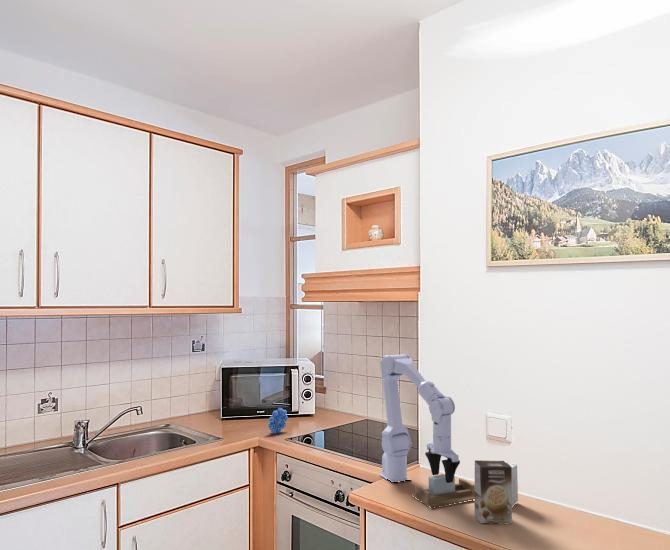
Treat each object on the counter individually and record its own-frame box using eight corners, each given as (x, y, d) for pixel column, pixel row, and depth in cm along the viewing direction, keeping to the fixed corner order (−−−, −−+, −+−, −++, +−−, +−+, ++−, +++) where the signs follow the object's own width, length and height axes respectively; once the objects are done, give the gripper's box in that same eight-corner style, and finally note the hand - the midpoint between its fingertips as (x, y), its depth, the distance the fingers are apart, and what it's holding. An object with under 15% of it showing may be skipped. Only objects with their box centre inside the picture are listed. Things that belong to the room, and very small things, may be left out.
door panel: (428, 496, 163) (428, 475, 164) (449, 492, 167) (449, 472, 167) (434, 499, 161) (434, 478, 161) (455, 495, 164) (454, 474, 164)
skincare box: (505, 500, 163) (504, 461, 164) (518, 503, 160) (517, 464, 161) (497, 505, 158) (497, 466, 159) (511, 509, 155) (510, 469, 156)
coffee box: (480, 524, 145) (480, 467, 145) (474, 515, 151) (473, 460, 152) (512, 524, 145) (512, 466, 146) (504, 515, 151) (503, 459, 152)
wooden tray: (412, 496, 166) (412, 483, 166) (457, 488, 173) (457, 476, 173) (431, 509, 155) (431, 495, 156) (478, 500, 163) (478, 487, 163)
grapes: (281, 429, 253) (281, 405, 254) (290, 432, 248) (290, 407, 249) (262, 433, 245) (263, 408, 245) (271, 436, 240) (272, 410, 241)
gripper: (419, 431, 170) (419, 472, 169) (445, 442, 157) (445, 487, 156) (436, 429, 173) (436, 470, 172) (463, 440, 159) (464, 484, 159)
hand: (442, 478), depth 164 cm, fingers open, 7 cm apart
